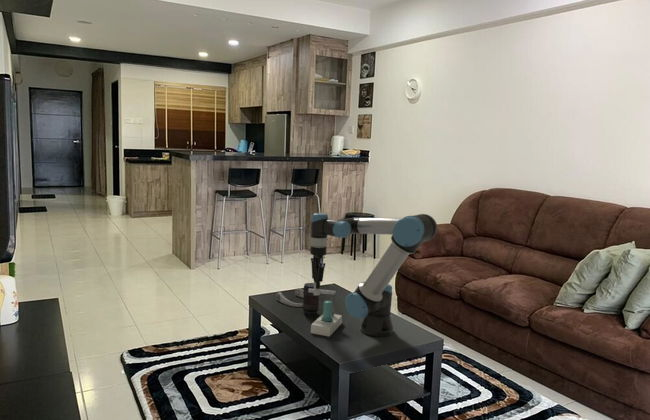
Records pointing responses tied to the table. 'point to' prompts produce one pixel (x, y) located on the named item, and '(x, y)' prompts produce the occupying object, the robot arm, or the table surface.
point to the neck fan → (284, 300)
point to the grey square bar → (323, 291)
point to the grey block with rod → (327, 323)
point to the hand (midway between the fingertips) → (316, 294)
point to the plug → (327, 311)
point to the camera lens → (310, 300)
